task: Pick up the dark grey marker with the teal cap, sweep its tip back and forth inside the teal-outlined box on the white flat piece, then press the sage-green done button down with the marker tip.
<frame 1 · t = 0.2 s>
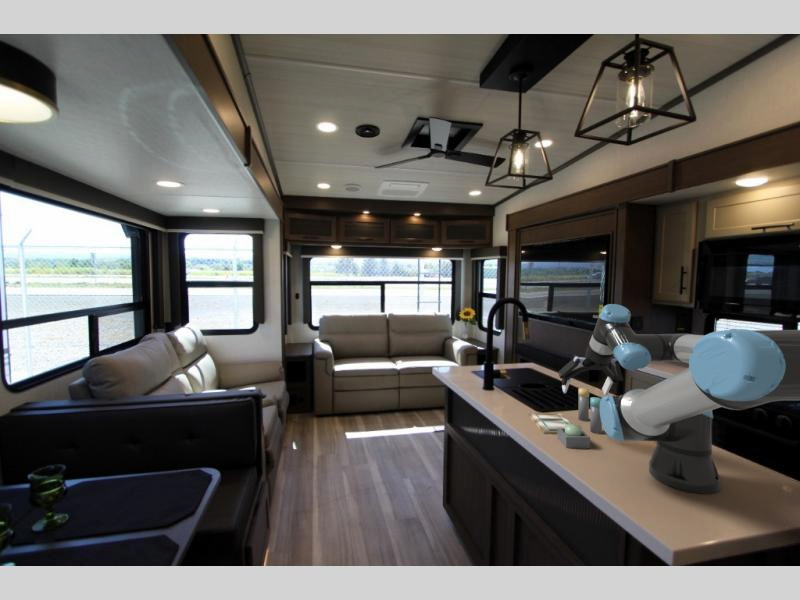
hand: (584, 391, 126), 15 cm above the countertop, tool tilted 35°, fingers open, 13 cm apart
white flat piece: (553, 424, 136), on the countertop
ochre marker: (583, 419, 140), on the countertop
dumbbell: (655, 441, 120), on the countertop
teal marker: (596, 431, 128), on the countertop
button housing: (573, 442, 119), on the countertop
done button: (573, 432, 119), point 4 cm above the countertop, slide at 0.0 cm
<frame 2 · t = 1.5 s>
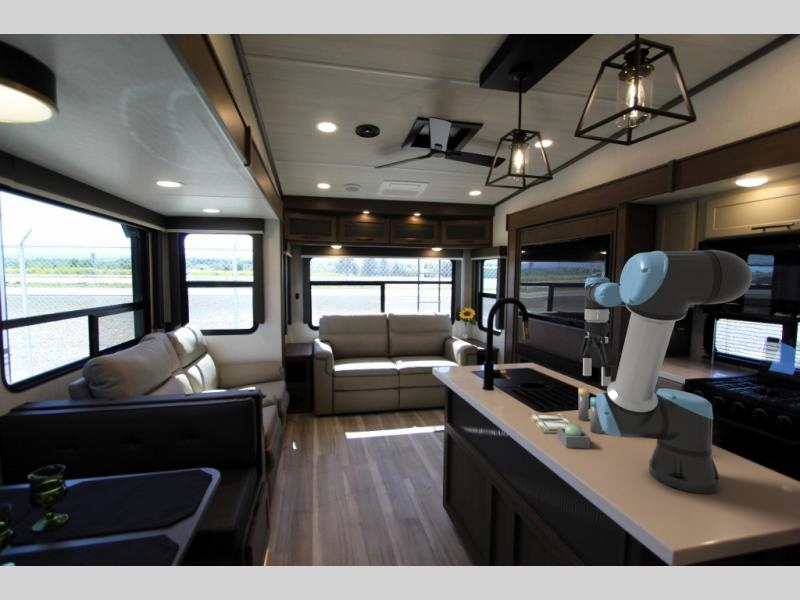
hand: (596, 380, 128), 19 cm above the countertop, tool pointing down, fingers open, 13 cm apart
nothing on the countertop moved.
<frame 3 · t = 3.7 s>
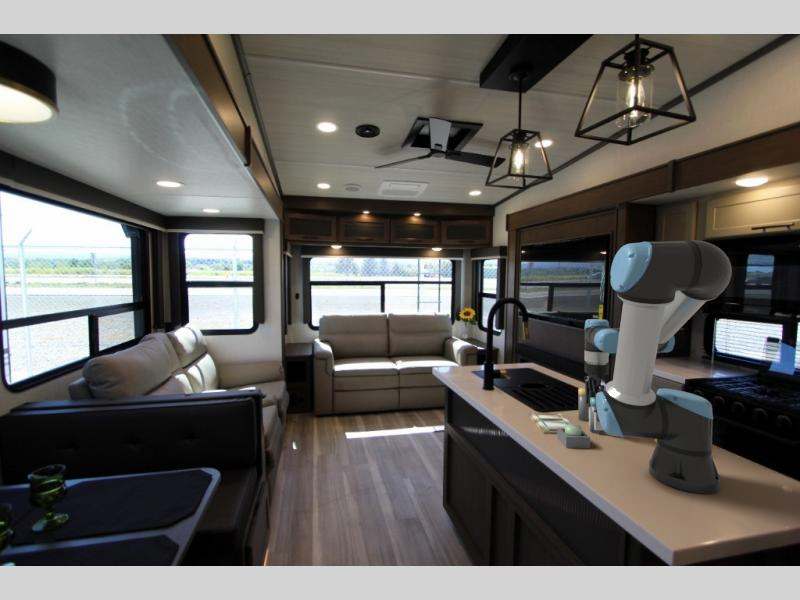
hand: (596, 427, 128), 2 cm above the countertop, tool pointing down, fingers closed on teal marker, 3 cm apart
teal marker: (595, 431, 128), on the countertop, touching gripper
everything else where it was.
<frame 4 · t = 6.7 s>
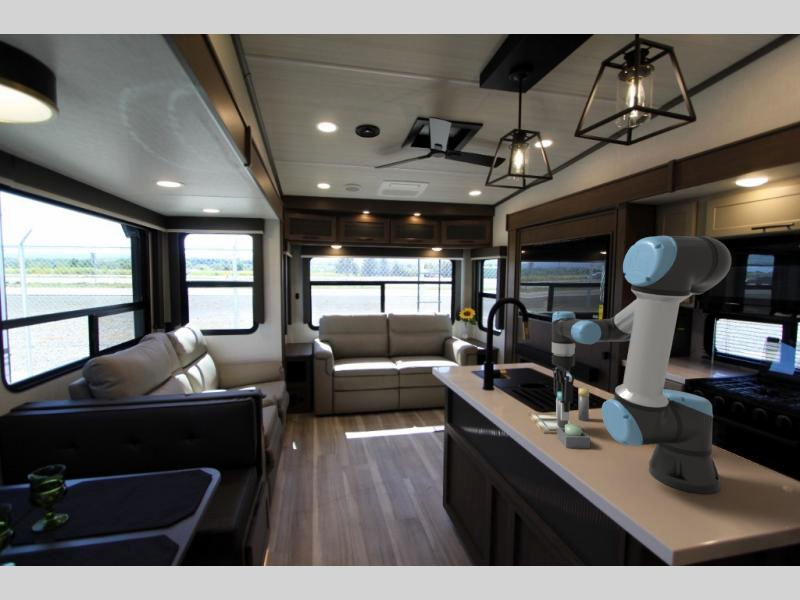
hand: (562, 417, 130), 4 cm above the countertop, tool pointing down, fingers closed on teal marker, 3 cm apart
teal marker: (562, 425, 130), point 2 cm above the countertop, touching gripper
everything else where it was.
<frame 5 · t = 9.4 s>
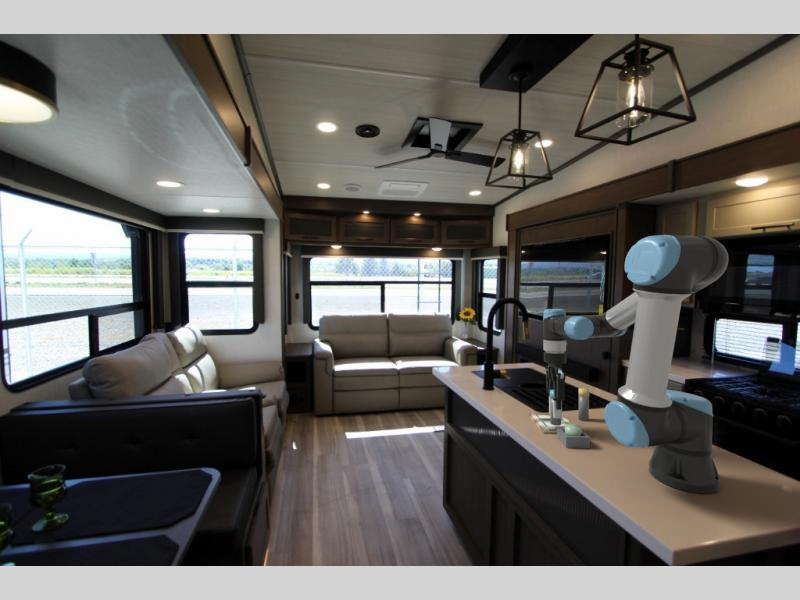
hand: (555, 415, 130), 5 cm above the countertop, tool pointing down, fingers closed on teal marker, 3 cm apart
teal marker: (555, 423, 130), point 2 cm above the countertop, touching gripper
everything else where it was.
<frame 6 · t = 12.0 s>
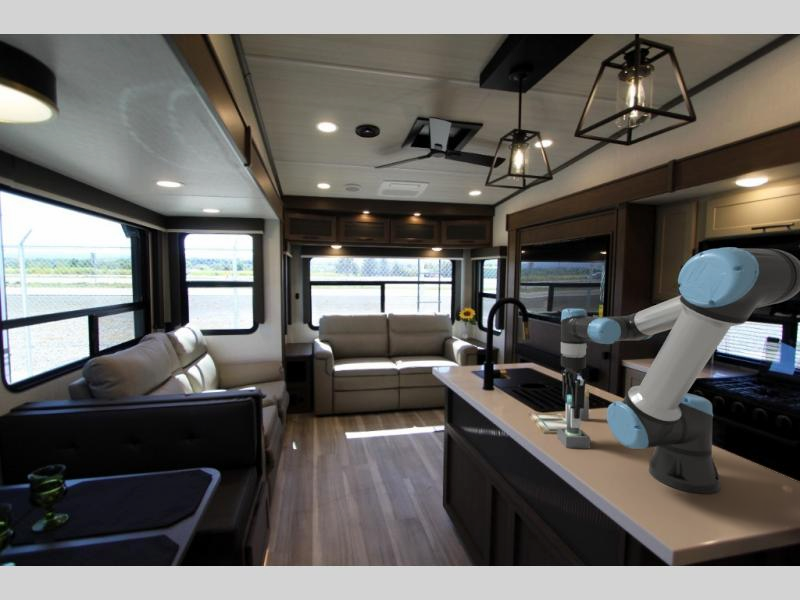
hand: (572, 424, 119), 6 cm above the countertop, tool pointing down, fingers closed on teal marker, 3 cm apart
teal marker: (572, 431, 119), point 4 cm above the countertop, touching done button, gripper
done button: (573, 437, 119), point 2 cm above the countertop, slide at 1.7 cm, touching teal marker
everything else where it was.
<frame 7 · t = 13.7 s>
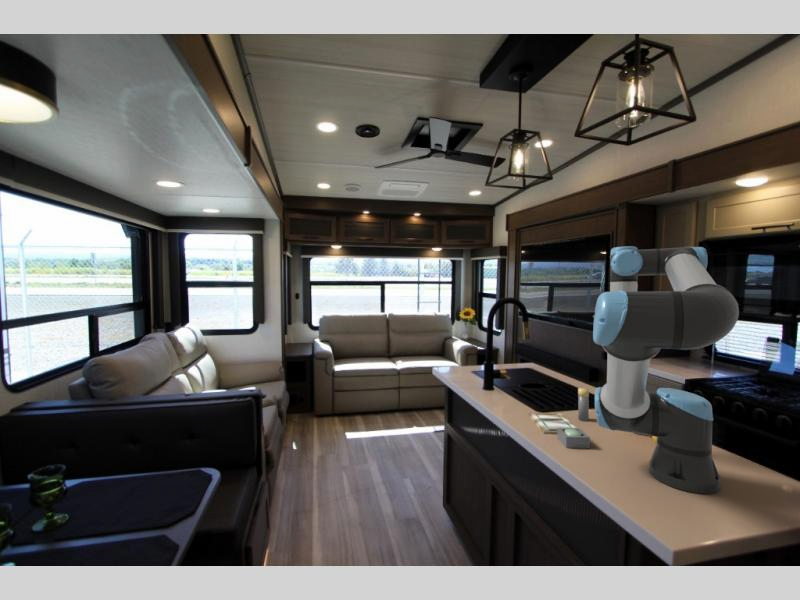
hand: (623, 367, 116), 26 cm above the countertop, tool pointing down, fingers closed on teal marker, 3 cm apart
teal marker: (622, 375, 116), point 23 cm above the countertop, touching gripper
done button: (573, 437, 119), point 2 cm above the countertop, slide at 1.7 cm
everything else where it was.
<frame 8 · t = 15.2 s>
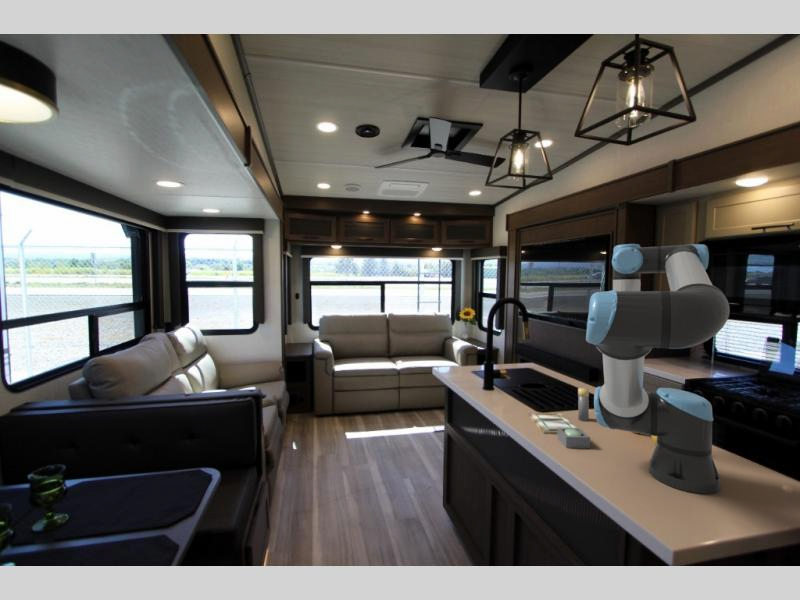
hand: (625, 364, 116), 27 cm above the countertop, tool pointing down, fingers closed on teal marker, 3 cm apart
teal marker: (625, 373, 116), point 24 cm above the countertop, touching gripper
everything else where it was.
at the end: done button slide at 1.7 cm; the gripper is holding teal marker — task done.
